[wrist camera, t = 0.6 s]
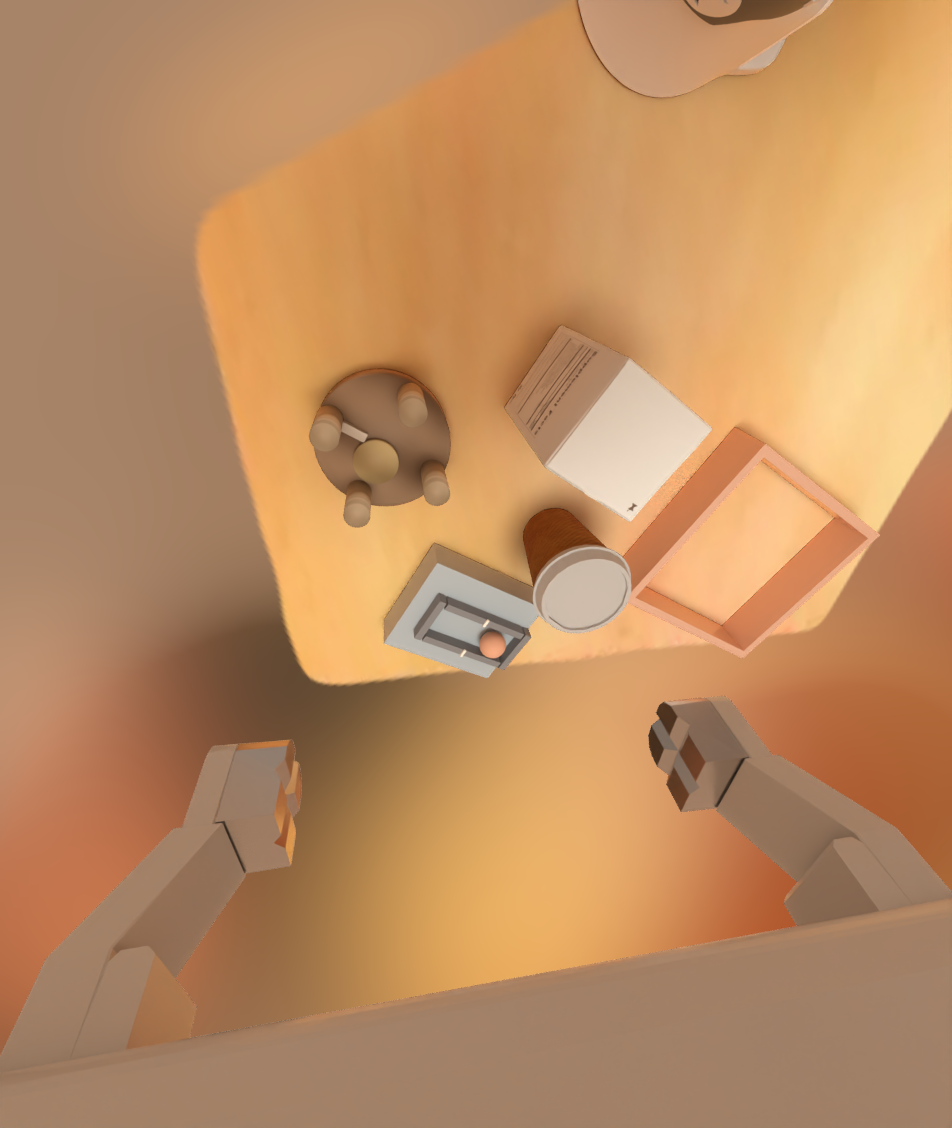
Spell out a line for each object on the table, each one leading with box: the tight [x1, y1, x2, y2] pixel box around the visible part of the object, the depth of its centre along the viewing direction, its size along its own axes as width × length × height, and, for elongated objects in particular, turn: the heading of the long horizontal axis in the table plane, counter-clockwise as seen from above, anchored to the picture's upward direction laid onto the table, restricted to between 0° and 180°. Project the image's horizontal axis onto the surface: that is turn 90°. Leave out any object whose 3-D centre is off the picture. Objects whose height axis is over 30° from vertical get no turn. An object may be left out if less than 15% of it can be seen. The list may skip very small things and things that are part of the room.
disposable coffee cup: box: [523, 508, 632, 633], centre depth 50 cm, size 10×10×12 cm
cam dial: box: [309, 369, 451, 527], centre depth 43 cm, size 12×12×8 cm
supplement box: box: [505, 325, 712, 522], centre depth 40 cm, size 9×9×15 cm
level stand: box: [384, 543, 539, 678], centre depth 56 cm, size 12×14×6 cm
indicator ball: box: [479, 631, 506, 658], centre depth 55 cm, size 3×3×3 cm
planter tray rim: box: [623, 427, 880, 658], centre depth 58 cm, size 21×22×5 cm
